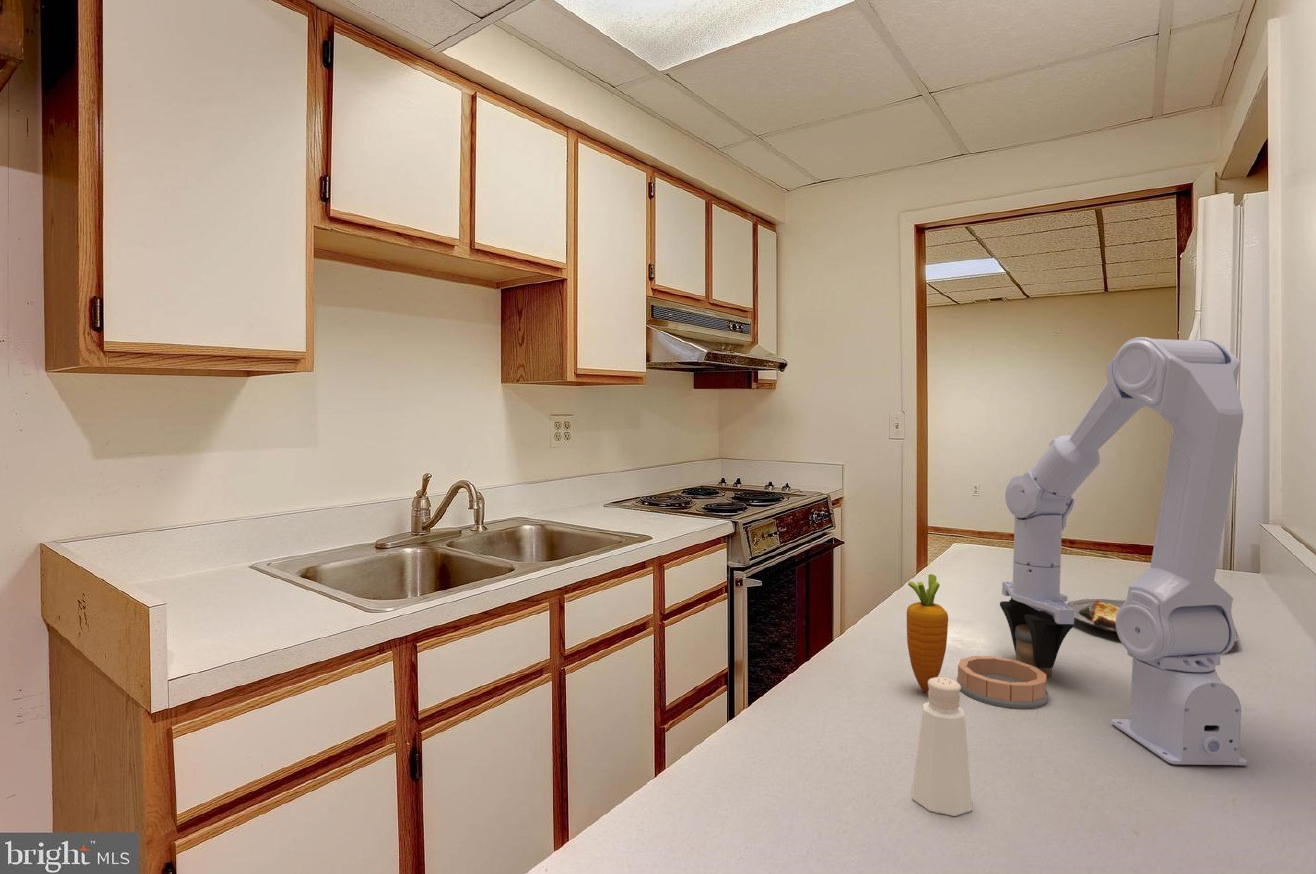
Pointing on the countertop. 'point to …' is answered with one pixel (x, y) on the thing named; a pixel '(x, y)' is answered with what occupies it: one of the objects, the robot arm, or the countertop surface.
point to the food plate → (1100, 613)
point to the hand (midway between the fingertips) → (1033, 660)
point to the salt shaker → (942, 752)
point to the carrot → (926, 633)
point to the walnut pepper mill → (1026, 648)
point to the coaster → (1002, 682)
